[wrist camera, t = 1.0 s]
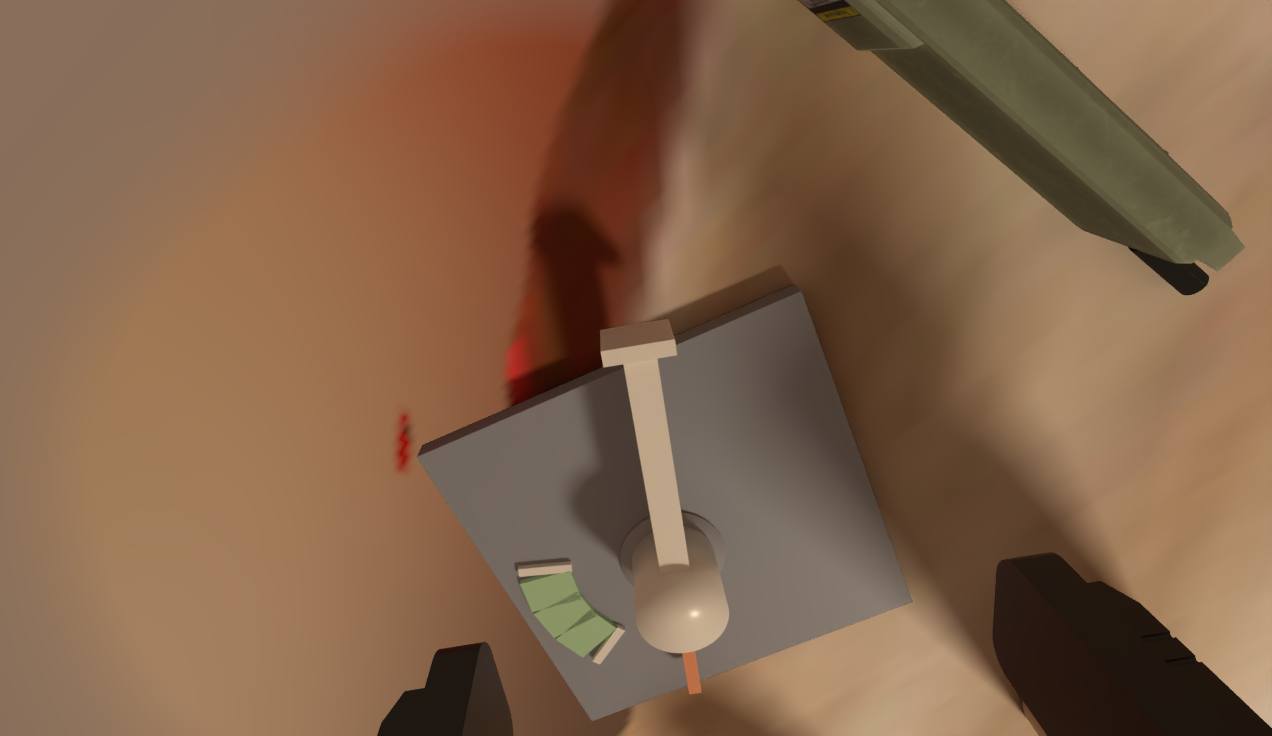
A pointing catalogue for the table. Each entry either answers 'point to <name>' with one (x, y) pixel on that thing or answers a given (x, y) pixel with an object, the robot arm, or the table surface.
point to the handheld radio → (1045, 125)
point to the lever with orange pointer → (665, 513)
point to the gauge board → (709, 500)
